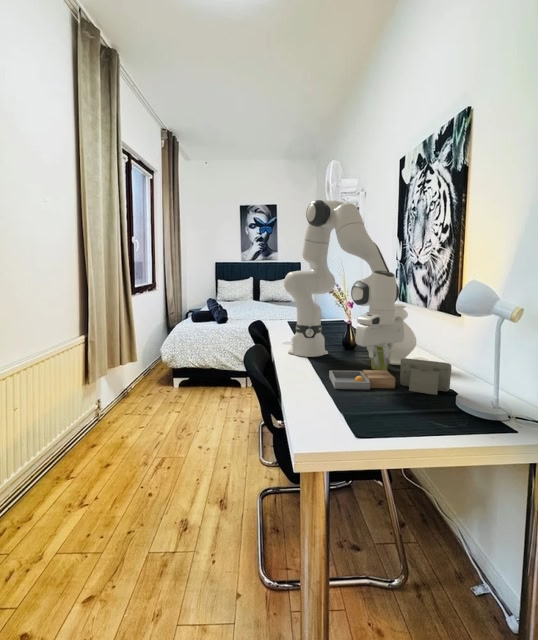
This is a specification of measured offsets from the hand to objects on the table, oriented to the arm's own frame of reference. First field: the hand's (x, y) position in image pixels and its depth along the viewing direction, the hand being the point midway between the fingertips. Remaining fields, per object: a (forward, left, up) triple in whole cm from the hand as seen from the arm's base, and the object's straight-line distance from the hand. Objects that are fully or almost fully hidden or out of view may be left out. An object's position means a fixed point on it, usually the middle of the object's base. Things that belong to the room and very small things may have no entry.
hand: (379, 356), depth 135 cm
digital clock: (+6, +14, -10) cm, 18 cm away
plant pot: (-19, +5, -10) cm, 22 cm away
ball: (+2, -7, -8) cm, 11 cm away
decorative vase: (-33, +15, -10) cm, 38 cm away
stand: (0, 0, -10) cm, 10 cm away
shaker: (+1, +1, -3) cm, 3 cm away
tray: (0, -11, -10) cm, 15 cm away
